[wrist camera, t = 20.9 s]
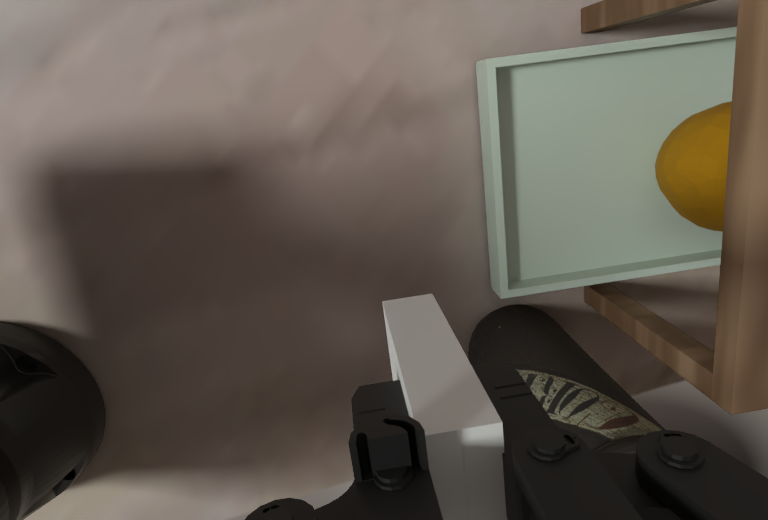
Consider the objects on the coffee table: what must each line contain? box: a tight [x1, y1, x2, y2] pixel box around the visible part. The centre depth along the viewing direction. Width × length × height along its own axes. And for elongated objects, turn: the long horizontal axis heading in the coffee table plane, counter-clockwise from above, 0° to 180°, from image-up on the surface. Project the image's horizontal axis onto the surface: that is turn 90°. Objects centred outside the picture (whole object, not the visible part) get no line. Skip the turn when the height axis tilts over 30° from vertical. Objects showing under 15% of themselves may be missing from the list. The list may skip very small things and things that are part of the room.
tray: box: [476, 27, 737, 299], centre depth 39 cm, size 24×17×2 cm
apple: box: [655, 101, 732, 232], centre depth 35 cm, size 8×8×9 cm
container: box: [469, 306, 665, 454], centre depth 34 cm, size 9×9×20 cm
